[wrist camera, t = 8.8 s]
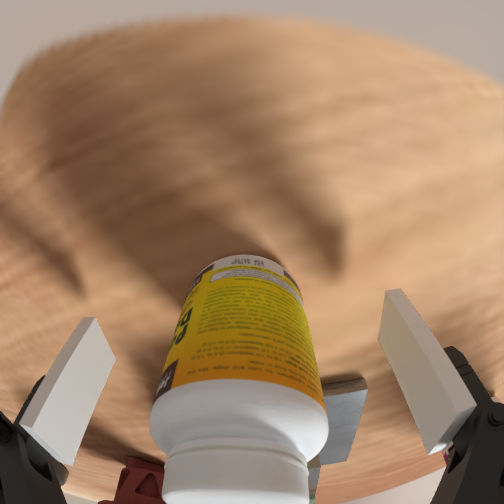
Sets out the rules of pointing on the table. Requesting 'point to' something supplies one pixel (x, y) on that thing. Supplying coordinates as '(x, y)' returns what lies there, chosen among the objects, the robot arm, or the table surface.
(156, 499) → the mechanical component
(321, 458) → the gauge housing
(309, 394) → the supplement bottle
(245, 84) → the table surface
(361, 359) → the table surface
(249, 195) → the table surface
